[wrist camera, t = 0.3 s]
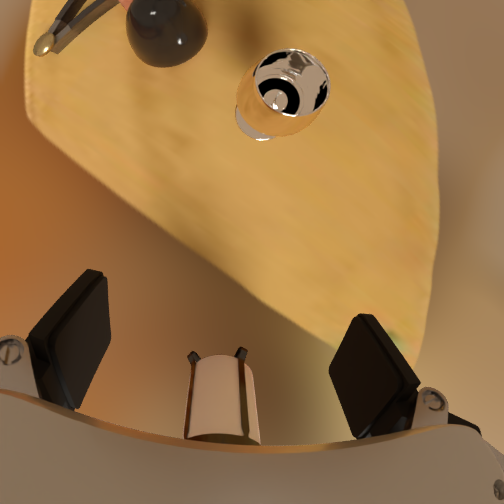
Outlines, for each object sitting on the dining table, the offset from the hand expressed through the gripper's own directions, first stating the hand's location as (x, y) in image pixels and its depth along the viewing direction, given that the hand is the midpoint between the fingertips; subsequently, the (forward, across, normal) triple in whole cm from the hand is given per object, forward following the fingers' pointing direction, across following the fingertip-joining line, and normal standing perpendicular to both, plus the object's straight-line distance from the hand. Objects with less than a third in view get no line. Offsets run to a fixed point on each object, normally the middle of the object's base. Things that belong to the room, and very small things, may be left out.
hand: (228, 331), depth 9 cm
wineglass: (+32, -2, -12) cm, 34 cm away
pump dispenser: (+32, +13, -21) cm, 40 cm away
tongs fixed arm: (+31, +29, -29) cm, 52 cm away
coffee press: (+31, -5, +35) cm, 47 cm away
